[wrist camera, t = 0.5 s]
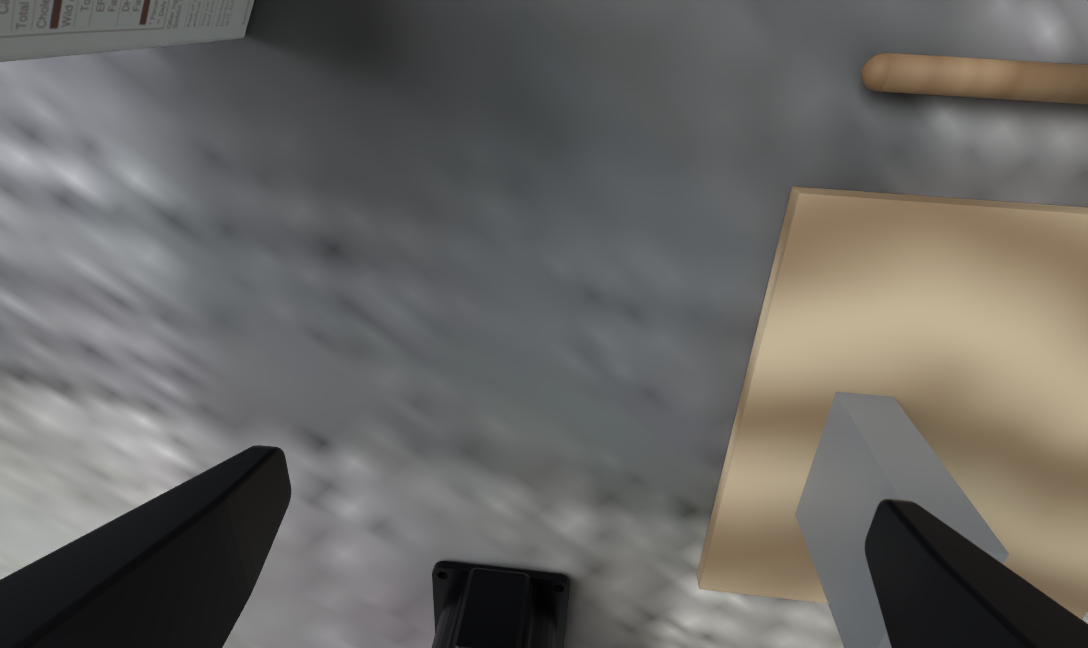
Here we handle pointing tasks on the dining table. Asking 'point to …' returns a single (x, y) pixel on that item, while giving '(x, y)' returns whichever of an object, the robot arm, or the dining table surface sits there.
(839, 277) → the board
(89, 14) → the supplement box
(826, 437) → the block
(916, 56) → the turner
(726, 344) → the dining table surface
